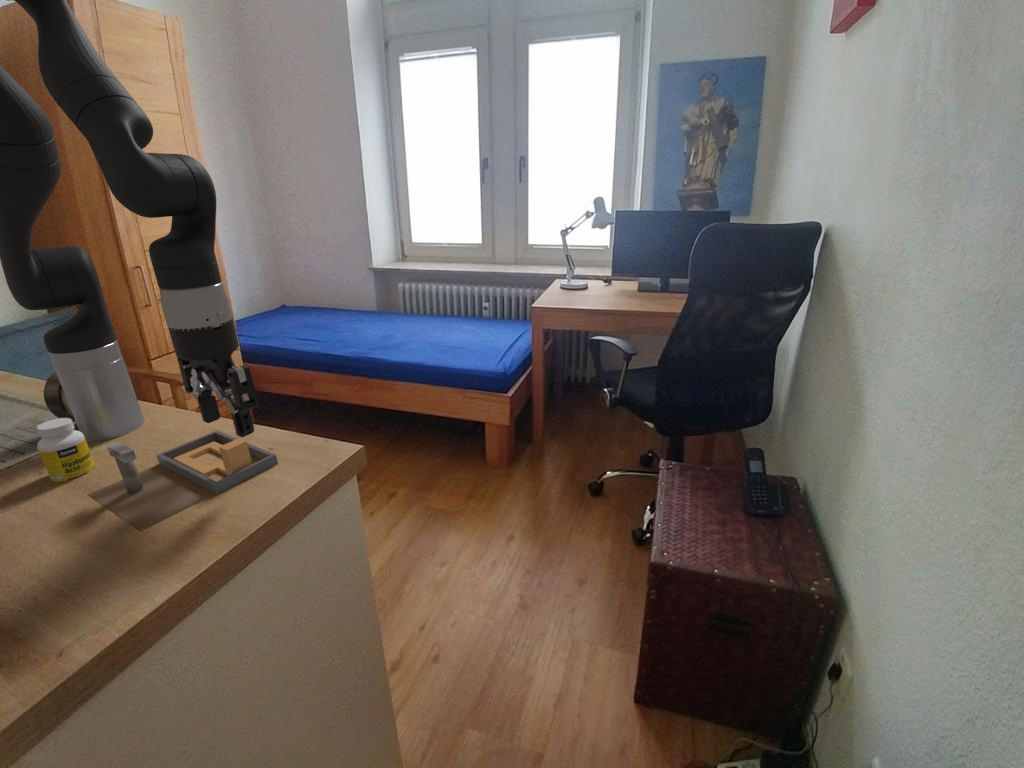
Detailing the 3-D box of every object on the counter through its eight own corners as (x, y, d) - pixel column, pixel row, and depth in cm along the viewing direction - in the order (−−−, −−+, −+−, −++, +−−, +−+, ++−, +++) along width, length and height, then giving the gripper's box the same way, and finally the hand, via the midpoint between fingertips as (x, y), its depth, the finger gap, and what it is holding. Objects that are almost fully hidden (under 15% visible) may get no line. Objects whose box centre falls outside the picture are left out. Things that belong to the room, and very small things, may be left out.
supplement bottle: (71, 492, 74) (46, 433, 70) (45, 487, 76) (19, 429, 72) (107, 473, 79) (85, 417, 75) (82, 468, 80) (59, 414, 77)
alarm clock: (76, 438, 91) (42, 353, 85) (52, 436, 92) (17, 352, 86) (130, 412, 101) (103, 335, 94) (108, 410, 102) (80, 334, 96)
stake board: (91, 503, 71) (70, 451, 68) (152, 476, 78) (135, 428, 74) (144, 540, 63) (123, 484, 60) (207, 507, 70) (191, 455, 66)
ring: (176, 466, 79) (165, 432, 77) (216, 449, 84) (207, 416, 82) (225, 491, 72) (214, 455, 70) (265, 471, 77) (257, 436, 75)
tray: (161, 471, 79) (156, 455, 78) (221, 445, 86) (216, 430, 85) (219, 502, 71) (214, 484, 69) (279, 471, 78) (275, 454, 77)
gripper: (142, 318, 67) (176, 426, 73) (200, 333, 60) (232, 451, 66) (199, 306, 73) (226, 407, 79) (258, 318, 66) (282, 428, 72)
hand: (228, 427), depth 72 cm, fingers open, 8 cm apart
